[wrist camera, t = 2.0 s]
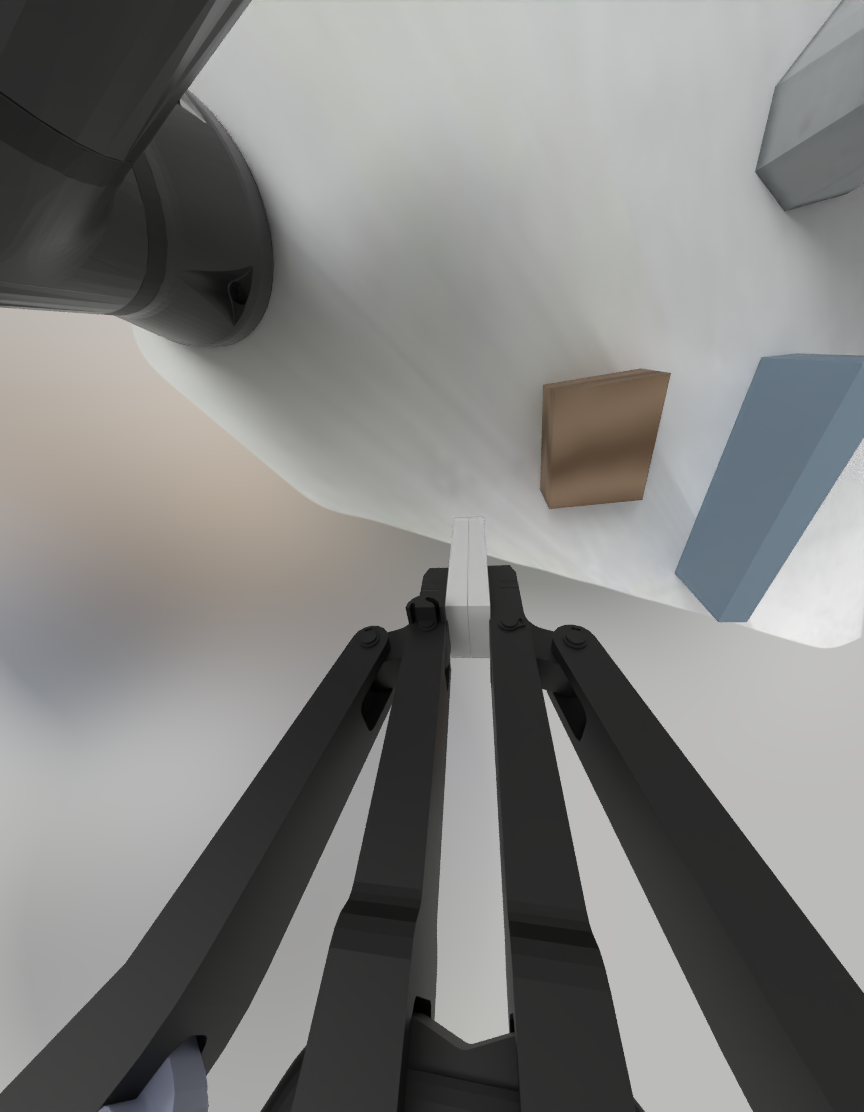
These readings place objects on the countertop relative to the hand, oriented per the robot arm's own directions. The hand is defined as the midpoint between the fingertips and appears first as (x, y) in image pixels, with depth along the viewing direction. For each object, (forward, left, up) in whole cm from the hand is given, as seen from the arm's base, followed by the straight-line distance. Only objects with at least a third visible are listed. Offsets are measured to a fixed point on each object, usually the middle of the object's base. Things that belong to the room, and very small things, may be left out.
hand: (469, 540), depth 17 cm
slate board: (+6, +25, -18) cm, 32 cm away
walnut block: (0, +11, -19) cm, 22 cm away
